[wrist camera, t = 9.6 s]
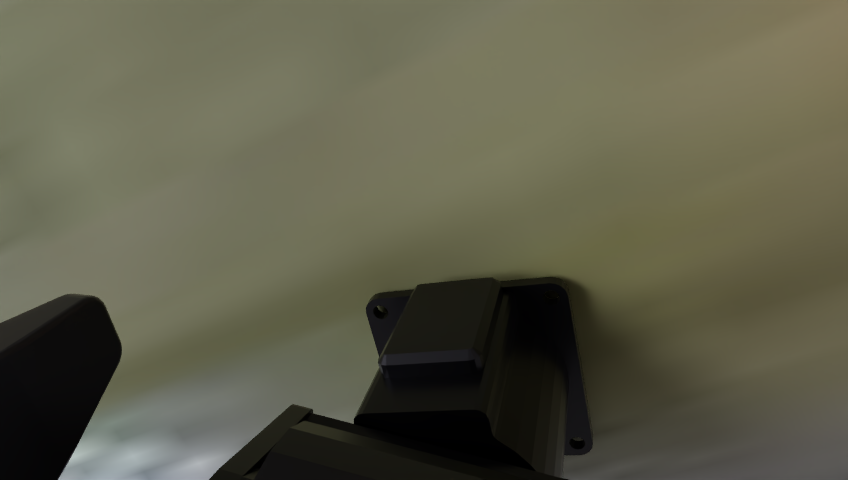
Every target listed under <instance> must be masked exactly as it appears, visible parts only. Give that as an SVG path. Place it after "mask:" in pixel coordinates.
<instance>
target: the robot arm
mask: <svg viewBox="0 0 848 480" xmlns="http://www.w3.org/2000/svg"><path fill="white" fill-rule="evenodd" d="M549 290H552V291H555V292H557V293H558V294H559V297H558V298H554V299H551V298H548V297H547V296H545V294H544V293H545V292H546V291H549ZM378 305H380V306H383V307H385V308H386V309H387V311H388V312H387V313H384V312H381V311H380V310H378V308H377V306H378ZM366 314H367V317H368V320H369V324H370V327H371V331H372V334H373V337H374V341H375V344H376V347H377V351H378V354H379V359H378V364H379V369H378V371H377V373H376V375H375V377H374V379H373V381H372V383H371V385H370V387H369V389H368V391H367V393H366V395H365V397H364V399H363V402H362V404H361V406H360V408H359V410H358V412H357V414H356V416H355V418H354V424H351V423H348V422H344V421H340V420H336V419H332V418H328V417H325V416H321V415H317V414H313V410H312V409H310V408H306V407H302V406H298V405H294V404H292V405H291V406H290V407H288V408H287V409H286V410H285V411H284V412H283V413H282V414H281V415H279V416H278V417H277V418H276V419H275V420H274V421H273V422H271V423H270V424H269V425H268V426H267V427H266V428H265V429H264V430H262V431H261V432H260V433H259V434H258V435H257V436H256V437H254V438H253V439H252V440H251V441H250V442H249V443H248V444H247V445H245V446H244V447H243V448H242V449H241V450H240V451H239V452H238V453H236V454H235V455H234V456H233V457H232V458H231V459H230V460H228V461H227V462H226V463H225V464H224V465H223V466H222V467H221V468H219V469H218V470H217V472H216V473H215V474H214V475H213V476H212V477H211V478H210V479H209V480H567V479H563V478H562V476H563V462H564V455H583V454H586V453H588V452H589V451H590V450H591V449H592V445H593V433H592V427H591V420H590V414H589V408H588V402H587V396H586V390H585V384H584V378H583V372H582V366H581V360H580V354H579V348H578V342H577V336H576V330H575V324H574V318H573V312H572V306H571V300H570V294H569V289H568V287H567V284H566V283H565V282H564V281H563V280H561V279H559V278H556V277H543V278H533V279H522V280H511V281H501V282H500V281H498V280H496V279H494V278H481V279H470V280H460V281H450V282H439V283H429V284H420V285H417V287H416V288H415V289H414V290H405V291H394V292H384V293H378V294H375V295H374V296H373V297H372V298H371V299H370V301H369V303H368V305H367V307H366ZM121 354H122V346H121V342H120V339H119V337H118V334H117V332H116V330H115V327H114V325H113V323H112V320H111V318H110V316H109V313H108V311H107V309H106V307H105V305H104V303H103V302H102V301H101V300H100V299H99V298H98V297H95V296H90V295H80V294H67V295H63V296H61V297H58V298H56V299H54V300H52V301H49V302H47V303H45V304H43V305H40V306H38V307H36V308H34V309H31V310H29V311H27V312H24V313H22V314H20V315H18V316H15V317H13V318H11V319H9V320H6V321H4V322H2V323H0V480H58V478H59V477H60V475H61V473H62V472H63V470H64V468H65V467H66V465H67V463H68V462H69V460H70V458H71V456H72V454H73V452H74V450H75V449H76V447H77V445H78V443H79V441H80V439H81V437H82V435H83V433H84V431H85V429H86V427H87V425H88V423H89V421H90V419H91V417H92V415H93V413H94V411H95V409H96V407H97V405H98V403H99V401H100V399H101V397H102V395H103V394H104V392H105V390H106V388H107V386H108V384H109V382H110V380H111V378H112V376H113V374H114V372H115V370H116V368H117V366H118V364H119V362H120V358H121ZM574 437H579V438H581V439H583V440H581V441H575V440H573V439H572V438H574Z"/></svg>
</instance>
